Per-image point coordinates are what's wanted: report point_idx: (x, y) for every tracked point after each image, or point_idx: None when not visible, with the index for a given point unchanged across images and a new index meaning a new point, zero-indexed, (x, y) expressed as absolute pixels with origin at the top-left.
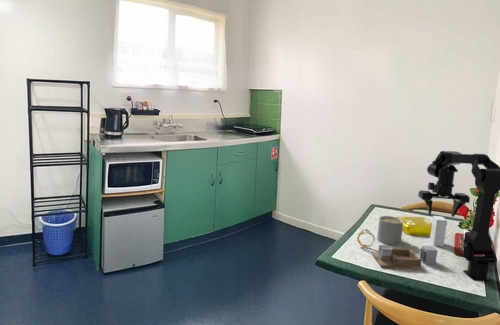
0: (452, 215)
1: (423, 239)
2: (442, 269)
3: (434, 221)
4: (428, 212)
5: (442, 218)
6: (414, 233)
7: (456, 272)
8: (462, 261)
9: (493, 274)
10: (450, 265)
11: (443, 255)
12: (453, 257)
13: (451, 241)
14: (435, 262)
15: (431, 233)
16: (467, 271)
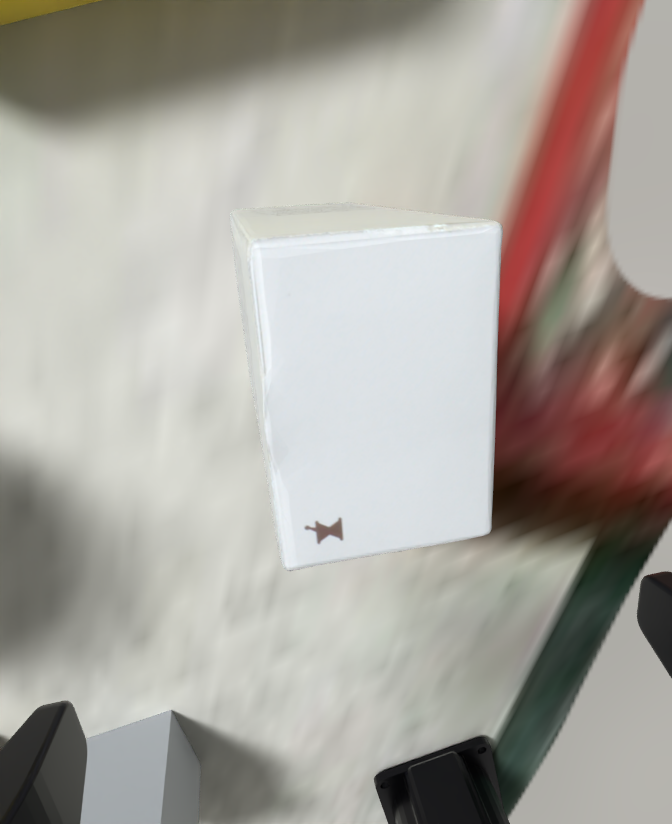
0: (660, 645)
1: (151, 190)
2: (240, 803)
3: (258, 388)
4: (2, 770)
5: (440, 412)
6: (7, 16)
7: (326, 799)
8: (429, 623)
9: (557, 721)
10: (313, 725)
11: (303, 577)
12: (381, 580)
13: (509, 127)
14: (198, 784)
15: (236, 263)
16: (398, 787)
